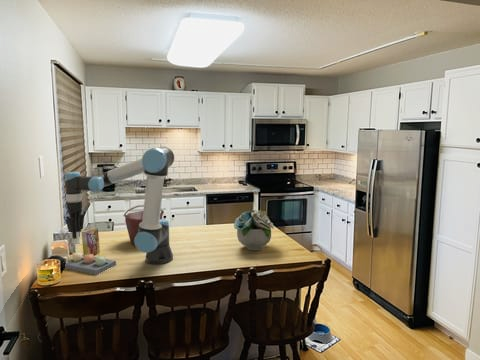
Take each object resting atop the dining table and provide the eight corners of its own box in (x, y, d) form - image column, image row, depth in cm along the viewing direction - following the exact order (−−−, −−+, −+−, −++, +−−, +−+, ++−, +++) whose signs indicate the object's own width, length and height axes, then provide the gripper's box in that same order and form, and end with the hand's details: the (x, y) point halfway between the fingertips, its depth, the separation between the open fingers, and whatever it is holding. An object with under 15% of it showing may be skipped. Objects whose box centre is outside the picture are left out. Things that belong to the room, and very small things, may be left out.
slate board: (116, 265, 192) (115, 260, 192) (97, 275, 180) (96, 270, 179) (82, 258, 201) (82, 254, 201) (61, 267, 188) (61, 263, 188)
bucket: (168, 238, 238) (167, 202, 234) (157, 249, 216) (156, 209, 212) (133, 237, 240) (131, 201, 236) (119, 248, 219) (117, 208, 215)
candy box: (94, 251, 212) (93, 227, 210) (100, 252, 211) (98, 228, 208) (82, 256, 204) (81, 231, 202) (88, 257, 203) (86, 232, 200)
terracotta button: (96, 261, 191) (95, 254, 191) (89, 265, 187) (88, 257, 186) (89, 260, 193) (88, 253, 193) (81, 263, 189) (81, 256, 188)
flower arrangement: (271, 257, 204) (272, 216, 200) (229, 254, 209) (229, 214, 205) (276, 243, 228) (276, 206, 224) (238, 240, 233) (238, 204, 229)
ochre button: (84, 259, 194) (84, 252, 194) (77, 262, 190) (77, 255, 189) (77, 258, 196) (77, 251, 196) (70, 261, 192) (70, 254, 191)
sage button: (107, 263, 188) (107, 256, 188) (100, 267, 184) (100, 260, 183) (100, 262, 190) (100, 255, 190) (93, 266, 186) (93, 258, 185)
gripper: (78, 198, 195) (80, 239, 199) (58, 202, 183) (61, 246, 187) (89, 199, 192) (91, 240, 196) (69, 204, 180) (72, 248, 184)
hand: (76, 243), depth 191 cm, fingers closed
